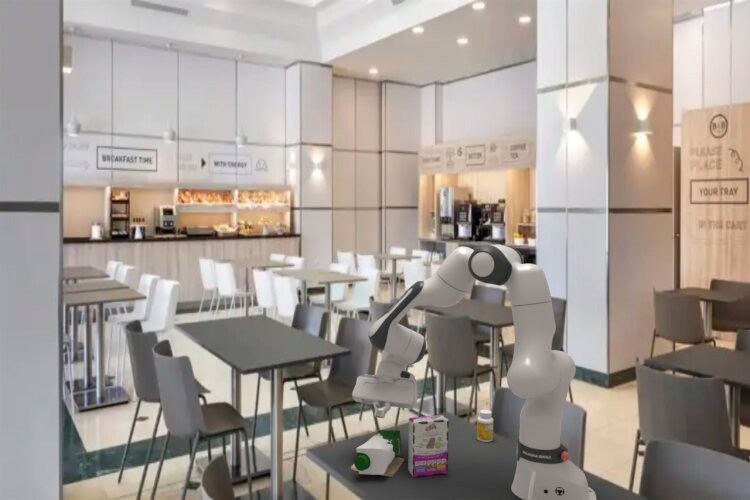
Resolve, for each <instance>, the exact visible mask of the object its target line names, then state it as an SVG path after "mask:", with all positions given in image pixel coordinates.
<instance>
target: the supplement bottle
mask: <svg viewBox="0 0 750 500" xmlns="http://www.w3.org/2000/svg"><path fill="white" fill-rule="evenodd" d="M492 413H493V412H492V411H491V410H490V409H481V410H479V416H478V417H477V423H476V424H477V426H476V439H477V440H478V441H480V442H483V443H487V442H488V443H489V442H492V441H493V440H494V439H493V438H494V434H493V433H494V418H493V417H492V416H493V415H492Z"/></svg>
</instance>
